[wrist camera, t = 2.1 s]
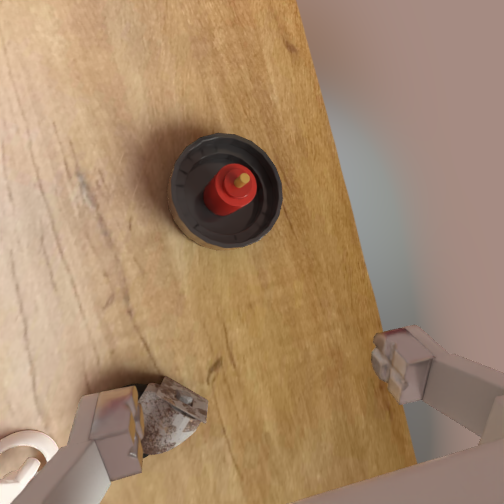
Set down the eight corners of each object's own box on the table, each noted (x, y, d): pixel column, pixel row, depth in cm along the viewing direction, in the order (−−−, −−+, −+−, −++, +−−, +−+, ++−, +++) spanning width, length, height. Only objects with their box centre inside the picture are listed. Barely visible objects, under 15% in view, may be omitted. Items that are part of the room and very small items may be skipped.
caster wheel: (95, 422, 43) (137, 354, 44) (170, 464, 44) (210, 396, 45) (72, 450, 37) (122, 370, 38) (161, 499, 37) (208, 419, 38)
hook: (-36, 408, 33) (12, 445, 31) (38, 420, 43) (78, 449, 41) (-108, 492, 29) (-58, 539, 27) (-9, 484, 39) (33, 518, 37)
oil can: (195, 192, 47) (212, 171, 37) (224, 171, 48) (247, 145, 39) (219, 223, 47) (242, 210, 38) (246, 201, 49) (275, 183, 40)
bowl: (143, 185, 45) (144, 175, 40) (226, 127, 50) (236, 112, 45) (213, 271, 48) (223, 271, 43) (286, 209, 52) (302, 202, 48)
